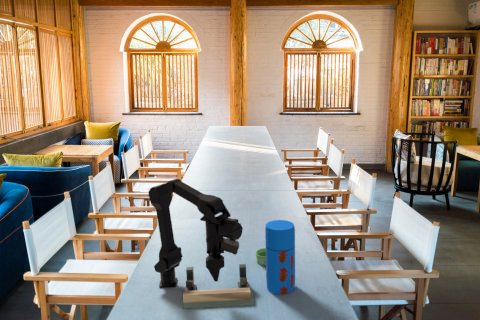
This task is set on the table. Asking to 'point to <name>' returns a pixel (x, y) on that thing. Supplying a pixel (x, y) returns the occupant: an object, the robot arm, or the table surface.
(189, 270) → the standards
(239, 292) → the rail
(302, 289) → the table surface
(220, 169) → the table surface
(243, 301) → the mat
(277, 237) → the thermos
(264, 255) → the ramekin
